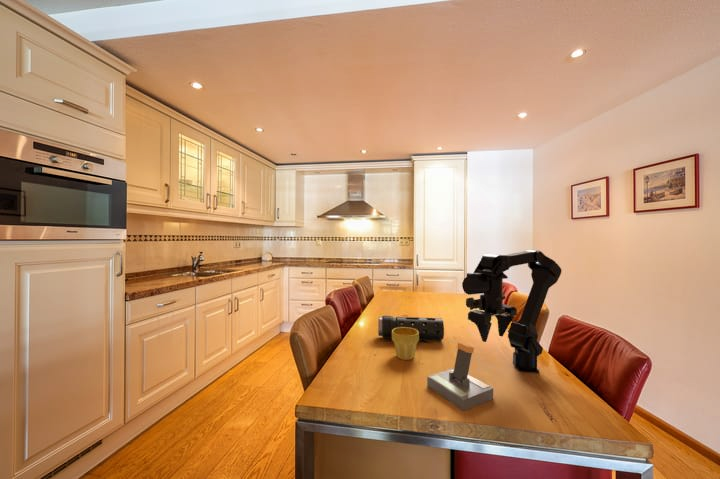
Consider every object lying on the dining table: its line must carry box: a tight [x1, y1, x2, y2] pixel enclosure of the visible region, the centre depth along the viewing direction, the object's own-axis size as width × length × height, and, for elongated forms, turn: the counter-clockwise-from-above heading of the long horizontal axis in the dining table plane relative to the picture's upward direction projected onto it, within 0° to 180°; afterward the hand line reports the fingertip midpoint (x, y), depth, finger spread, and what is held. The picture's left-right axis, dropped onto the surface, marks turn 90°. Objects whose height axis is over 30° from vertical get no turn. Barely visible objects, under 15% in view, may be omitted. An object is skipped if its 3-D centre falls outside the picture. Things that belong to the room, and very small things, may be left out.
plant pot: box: [391, 327, 420, 361], centre depth 108 cm, size 10×10×10 cm
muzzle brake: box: [377, 315, 445, 342], centre depth 126 cm, size 10×28×10 cm, turn 84°
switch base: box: [426, 367, 494, 412], centre depth 84 cm, size 12×14×5 cm
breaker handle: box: [453, 342, 475, 383], centre depth 84 cm, size 2×4×11 cm, turn 29°
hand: (492, 338), depth 94 cm, fingers open, 9 cm apart
